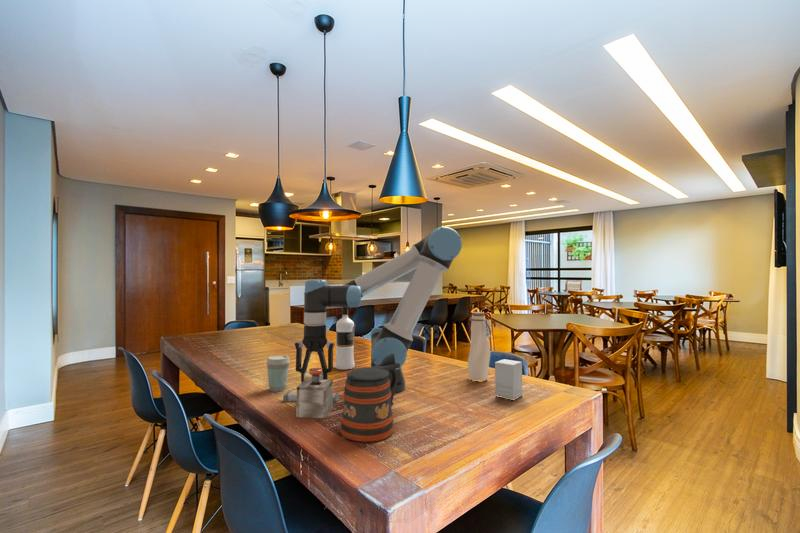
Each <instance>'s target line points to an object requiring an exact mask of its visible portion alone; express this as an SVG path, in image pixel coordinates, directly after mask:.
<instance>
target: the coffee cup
mask: <svg viewBox="0 0 800 533" xmlns="http://www.w3.org/2000/svg"><path fill="white" fill-rule="evenodd" d="M265 363H266V365H267V377H268V387H269V389H268V390H269V391H270V392H273V393H278V392H284V391H285V390H286V389H287V384H288V383H287V382H288V375H289V367H290V364H291V360H290V358H289V356H288V355H281V354H279V355H278V354H277V355H271V356H269V357H267V359H266V362H265Z"/></svg>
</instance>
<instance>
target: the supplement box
mask: <svg viewBox="0 0 800 533" xmlns="http://www.w3.org/2000/svg"><path fill="white" fill-rule="evenodd" d="M494 394H495V395H498V396H502V397H505V398H509V399H516V398H517V397H520V396H521V395H522V396H523V362H522V361H520V360H513V359H507V358H504V359H499V360H498V361H495V362H494ZM495 395H494V396H495Z"/></svg>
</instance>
